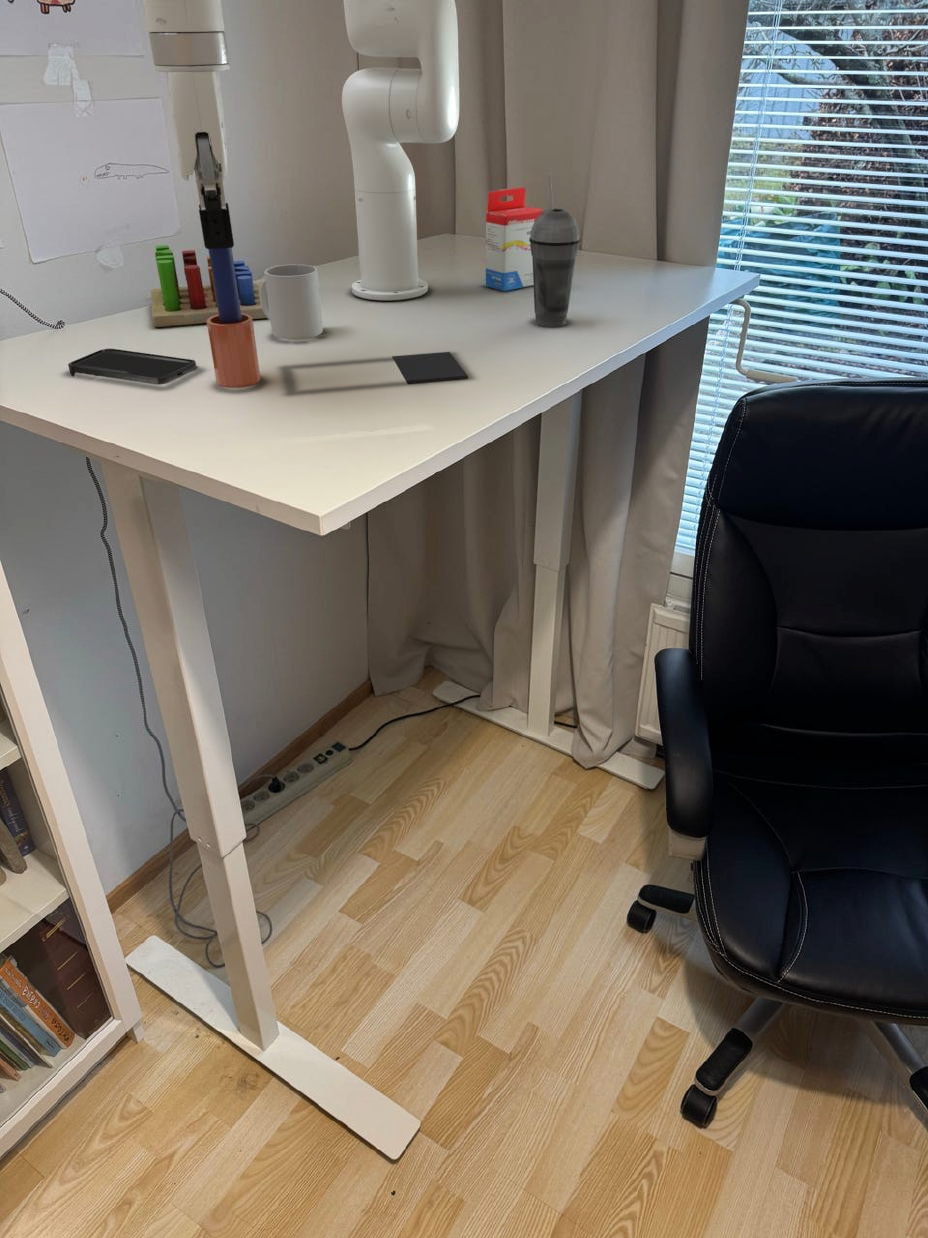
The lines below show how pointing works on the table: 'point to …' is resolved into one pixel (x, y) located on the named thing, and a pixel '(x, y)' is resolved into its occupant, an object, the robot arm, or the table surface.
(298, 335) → the cup
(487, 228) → the ink box
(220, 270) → the marker
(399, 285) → the robot arm
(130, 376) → the phone
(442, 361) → the desk mat
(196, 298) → the peg board
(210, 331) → the tumbler
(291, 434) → the table surface
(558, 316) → the beverage cup
